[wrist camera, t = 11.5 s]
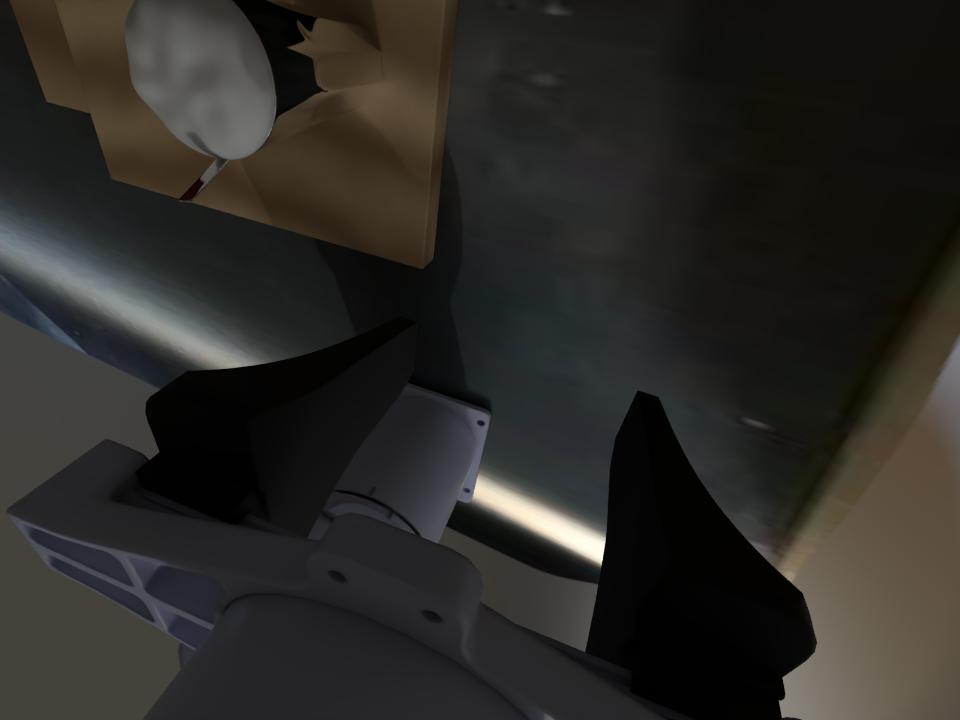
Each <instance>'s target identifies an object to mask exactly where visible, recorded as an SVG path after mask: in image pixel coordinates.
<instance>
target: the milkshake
mask: <svg viewBox="0 0 960 720" xmlns="http://www.w3.org/2000/svg"><path fill="white" fill-rule="evenodd" d="M125 42H126V48H127V54H128V61H129V69H130V77H131V81H132V84H133V86H134V89H135V90H136V92H137V93H138V95H139V96H140V97H141V98H142V100H143V101H144V102H145V103H146V104H147V105H148V106H149V107H150V108H151V109H152V110H153V111H154V112H155V113H156V114H157V116H158V117H159V118H160V119H161V120H162V122H163V123H164V124H165V126H166V127H167V128H168V129H169V131H170V132H171V133H172V134H173V135H174V136H175V137H176V138H178V139H179V140H180V141H181V142H183V143H184V144H186V145H187V146H189V147H190V148H192V149H194V150H196V151H198V152H200V153H202V154H205V155H208V156H211V157H214V158H217V159H216V160H215V161H214V162H213V163H212V164H211V166H210V167H209V168H208V169H207V170H206V171H205V172H204V173H203V174H202V175H201V176H200V177H199V178H198V179H197V180H196V181H195V182H194V183H193V185H192V186H191V187H190V188H189V189H188V190H187V191H186V192H185V193H184V194H183V195H182V196H181V197H180V198H179V201H180V202H187V203H190V202H192V201H193V200H194V199H195V198H196V196H197V195H198V194H199V193H200V192H201V191H202V190H203V189H204V188H205V187H206V186H207V185H208V183H209V182H210V181H211V180H212V179H213V178H214V177H215V176H216V175H217V174H218V173H219V171H220V170H221V169H222V168H223V167H224V166H225V165H226V164H227V163H228V162H229V161H230V160H233V159H240V158H244V157H247V156H249V155H251V154H253V153H256V152H258V151H260V150H262V149H264V148H267V147H269V146H271V145H273V144H275V143H278V142H280V141H282V140H284V139H286V138H288V137H291V136H293V135H295V134H297V133H299V132H301V131H303V130H305V129H307V128H309V127H311V126H313V125H316V124H318V123H321V122H323V121H326V120H328V119H331V118H334V117H336V116H339V115H341V114H344V113H347V112H349V111H352V110H355V109H357V108H360V107H363V106H365V105H368V104H370V103H372V102H373V100H374V98H375V96H376V94H377V92H378V90H379V88H380V86H381V84H382V82H383V75H382V63H381V52H380V51H379V49H378V47H377V46H376V44H375V42H374V41H373V39H372V37H371V36H370V34H369V32H368V31H367V29H366V28H365V27H364V26H361V25H359V24H357V23H355V22H353V21H350V20H348V19H346V18H344V17H342V16H338V15H334V14H330V13H326V12H322V11H318V10H314V9H310V8H305V7H301V6H297V5H293V4H289V3H285V2H281V1H277V0H135V1H134V3H133V4H132V6H131V8H130V10H129V12H128V15H127V18H126V23H125Z"/></svg>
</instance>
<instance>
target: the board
mask: <svg viewBox="0 0 960 720" xmlns="http://www.w3.org/2000/svg"><path fill="white" fill-rule="evenodd" d="M134 1H135V0H10V2H11V5H12V8H13V11H14V13H15V16H16V19H17V22H18V24H19V27H20V30H21V32H22V35H23V38H24V41H25V43H26V46H27V49H28V52H29V54H30V57H31V60H32V63H33V65H34V68H35V71H36V74H37V76H38V79H39V82H40V85H41V87H42V90H43V93H44V95H45V98H46V101H47V102H50V103H54V104H57V105H61V106H65V107H69V108H72V109H76V110H80V111H84V112H88V113H91V117H92V120H93V123H94V126H95V129H96V132H97V135H98V139H99V142H100V145H101V148H102V151H103V154H104V157H105V160H106V164H107V167H108V170H109V173H110V176H111V178H112V179H114V180H117V181H121V182H124V183H128V184H131V185H135V186H138V187H141V188H145V189H148V190H152V191H155V192H159V193H162V194H165V195H169V196H172V197H176V198H180V197H181V196H182V195H183V194H184V193H185V192H186V191H187V190H188V189H189V188H190V187H191V186H192V185H193V183H194V182H195V181H196V180H197V179H198V178H199V177H200V176H201V175H202V174H203V173H204V172H205V171H206V170H207V169H208V168H209V167H210V166H211V164H212V163H213V162H214V161H215V160H216V159H217V158H214V157H211V156H208V155H205V154H202V153H200V152H198V151H196V150H194V149H192V148H190V147H189V146H187V145H186V144H184V143H183V142H181V141H180V140H179V139H178V138H176V137H175V136H174V135H173V134H172V133H171V132H170V131H169V129H168V128H167V127H166V126H165V124H164V123H163V122H162V120H161V119H160V118H159V117H158V116H157V114H156V113H155V112H154V111H153V110H152V109H151V108H150V107H149V106H148V105H147V104H146V103H145V102H144V101H143V100H142V98H141V97H140V96H139V95H138V93H137V92H136V90H135V89H134V86H133V84H132V81H131V77H130V69H129V61H128V54H127V48H126V42H125V23H126V18H127V15H128V12H129V10H130V8H131V6H132V4H133V3H134ZM277 1H281V2H285V3H289V4H293V5H297V6H301V7H305V8H310V9H314V10H318V11H322V12H326V13H330V14H334V15H338V16H342V17H344V18H346V19H348V20H350V21H353V22H355V23H357V24H359V25H361V26H364V27H365V28H366V29H367V31H368V32H369V34H370V36H371V37H372V39H373V41H374V42H375V44H376V46H377V47H378V49H379V51H380V52H381V63H382V75H383V82H382V84H381V86H380V88H379V90H378V92H377V94H376V96H375V98H374V100H373V102H372V103H370V104H368V105H365V106H363V107H360V108H357V109H355V110H352V111H349V112H347V113H344V114H341V115H339V116H336V117H334V118H331V119H328V120H326V121H323V122H321V123H318V124H316V125H313V126H311V127H309V128H307V129H305V130H303V131H301V132H299V133H297V134H295V135H293V136H291V137H288V138H286V139H284V140H282V141H280V142H278V143H275V144H273V145H271V146H269V147H267V148H264V149H262V150H260V151H258V152H256V153H253V154H251V155H249V156H247V157H244V158H240V159H233V160H230V161H229V162H228V163H227V164H226V165H225V166H224V167H223V168H222V169H221V170H220V171H219V173H218V174H217V175H216V176H215V177H214V178H213V179H212V180H211V181H210V182H209V183H208V185H207V186H206V187H205V188H204V189H203V190H202V191H201V192H200V193H199V194H198V195H197V196H196V198H195V199H194V200H193V201H192V202H193V203H196V204H200V205H203V206H207V207H210V208H214V209H217V210H220V211H224V212H227V213H231V214H234V215H238V216H241V217H245V218H248V219H251V220H255V221H258V222H262V223H265V224H269V225H272V226H275V227H279V228H282V229H286V230H289V231H293V232H296V233H300V234H303V235H306V236H310V237H313V238H317V239H320V240H324V241H327V242H330V243H334V244H337V245H341V246H344V247H348V248H351V249H354V250H358V251H361V252H365V253H368V254H372V255H375V256H379V257H382V258H385V259H389V260H392V261H396V262H399V263H403V264H406V265H409V266H413V267H416V268H420V269H423V268H424V267H426V266H427V265H428V264H429V263H430V262H431V261H432V260H433V258H434V247H435V237H436V226H437V216H438V206H439V195H440V185H441V174H442V164H443V154H444V143H445V133H446V122H447V112H448V102H449V91H450V81H451V70H452V60H453V50H454V39H455V29H456V18H457V8H458V0H277Z"/></svg>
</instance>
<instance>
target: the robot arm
mask: <svg viewBox="0 0 960 720" xmlns="http://www.w3.org/2000/svg"><path fill="white" fill-rule="evenodd" d="M417 326H418V322H416V321H413V320H410V319H407V318H403V317H399V318H396V319H394V320H392V321H389V322H387V323H385V324H383V325H380V326H378V327H376V328H374V329H372V330H369V331H367V332H365V333H363V334H360V335H358V336H356V337H353V338H351V339H348V340H346V341H343V342H341V343H338V344H335V345H333V346H330V347H328V348H325V349H322V350H319V351H316V352H312V353H309V354H305V355H302V356H298V357H294V358H290V359H285V360H280V361H276V362H271V363H266V364H260V365H253V366H247V367H238V368H229V369H216V370H199V371H187V372H185V373H184V374H182V375H181V376H179V377H178V378H176V379H175V380H174V381H172V382H171V383H169V384H168V385H166V386H165V387H163V388H162V389H161V390H159V391H158V392H156V393H155V394H153V395H152V396H150V398H149V399H148V400H147V402H146V416H147V420H148V423H149V426H150V428H151V431H152V433H153V436H154V438H155V441H156V443H157V446H158V448H159V451H160V452H159V453H158V454H157V455H155V456H154V457H153V458H152V459H151V460H149V459H148V458H147V457H146V456H145V455H143V454H142V453H140V452H138V451H136V450H134V449H131V448H129V447H126V446H124V445H121V444H119V443H116V442H114V441H111V440H107V439H105V440H103V441H102V442H100V443H99V444H98V445H96V446H95V447H94V448H92V449H91V450H89V451H88V452H87V453H85V454H84V455H82V456H81V457H79V458H78V459H77V460H75V461H74V462H72V463H71V464H70V465H68V466H67V467H65V468H64V469H63V470H61V471H60V472H58V473H57V474H55V475H54V476H53V477H51V478H50V479H49V480H47V481H46V482H44V483H43V484H41V485H40V486H39V487H37V488H36V489H34V490H33V491H32V492H30V493H29V494H27V495H26V496H25V497H23V498H22V499H20V500H19V501H17V502H16V503H15V504H13V505H12V506H10V507H9V508H8V509H7V512H6V513H7V515H8V516H9V517H10V519H11V520H12V521H13V523H14V524H15V525H16V526H17V528H18V529H19V530H20V532H21V533H22V534H23V535H24V537H25V538H26V539H27V540H28V542H29V543H30V544H31V545H32V547H33V548H34V549H35V551H36V552H37V553H38V555H39V556H40V557H41V558H42V560H43V561H44V562H45V564H46V565H47V566H48V567H49V568H50V569H51V570H53V571H55V572H57V573H60V574H61V575H63V576H65V577H68V578H70V579H72V580H74V581H76V582H78V583H80V584H82V585H83V586H85V587H87V588H89V589H91V590H93V591H95V592H97V593H99V594H100V595H102V596H104V597H106V598H107V599H109V600H111V601H113V602H114V603H116V604H118V605H119V606H121V607H123V608H125V609H126V610H128V611H130V612H131V613H133V614H135V615H136V616H138V617H140V618H141V619H143V620H145V621H147V622H148V623H150V624H151V625H153V626H155V627H157V628H158V629H160V630H162V631H163V632H165V633H166V634H168V635H170V636H171V637H173V638H175V639H176V640H178V641H180V642H181V643H180V645H179V650H178V652H179V662H180V667H181V670H180V671H179V673H178V674H177V675H176V677H175V678H174V679H173V681H172V682H171V683H170V685H169V686H168V687H167V688H166V690H165V691H164V692H163V694H162V695H161V696H160V698H159V699H158V700H157V701H156V703H155V704H154V705H153V707H152V708H151V709H150V711H149V712H148V713H147V715H146V716H145V717H144V719H143V720H801V719H797V718H789V717H785V718H782V716H781V711H780V706H779V700H783V699H784V698H785V689H784V684H783V679H782V677H784V676H785V675H787V674H788V673H789V672H791V671H792V670H794V669H795V668H797V667H798V666H799V665H801V664H802V663H804V662H805V661H806V660H807V659H808V658H809V657H810V656H811V655H812V654H813V653H814V652H815V648H816V644H817V641H816V637H815V633H814V629H813V625H812V621H811V617H810V613H809V610H808V607H807V604H806V602H805V599H804V596H803V593H802V592H800V591H799V590H798V589H797V588H796V587H795V586H794V585H793V584H792V583H791V582H790V581H789V580H787V579H786V578H785V577H784V576H783V575H782V574H781V573H780V572H779V571H778V570H776V569H775V568H774V567H773V566H772V565H771V564H770V563H769V562H768V561H767V560H766V559H765V558H764V557H763V556H762V555H761V554H760V553H759V552H758V551H757V550H756V549H755V548H754V547H753V546H752V545H751V544H750V543H749V542H748V541H747V539H746V538H745V537H744V536H743V535H742V534H741V533H740V532H739V531H738V529H737V528H736V527H735V526H734V525H733V523H732V522H731V521H730V520H729V519H728V517H727V516H726V515H725V514H724V513H723V511H722V510H721V509H720V508H719V506H718V505H717V504H716V502H715V501H714V500H713V498H712V497H711V495H710V494H709V492H708V491H707V490H706V488H705V487H704V485H703V484H702V482H701V481H700V479H699V478H698V476H697V475H696V473H695V471H694V470H693V468H692V466H691V464H690V463H689V461H688V459H687V457H686V456H685V454H684V452H683V450H682V448H681V446H680V444H679V442H678V440H677V438H676V436H675V434H674V431H673V429H672V427H671V425H670V422H669V420H668V418H667V416H666V413H665V411H664V409H663V406H662V404H661V401H660V399H659V397H657V396H654V395H651V394H647V393H644V392H641V391H637V393H636V395H635V398H634V400H633V402H632V404H631V406H630V408H629V410H628V413H627V415H626V417H625V419H624V421H623V423H622V425H621V427H620V430H619V432H618V434H617V436H616V439H615V444H614V449H613V454H612V459H611V465H610V479H609V497H608V517H607V533H606V543H605V549H604V555H603V561H602V567H601V573H600V579H599V584H598V590H597V596H596V602H595V606H594V612H593V617H592V621H591V627H590V632H589V637H588V641H587V646H586V651H585V652H583V651H581V650H578V649H576V648H573V647H571V646H568V645H566V644H564V643H561V642H559V641H556V640H554V639H552V638H549V637H547V636H544V635H541V634H539V633H537V632H534V631H532V630H530V629H527V628H525V627H522V626H520V625H517V624H515V623H513V622H512V621H510V620H509V619H507V618H506V617H504V616H502V615H501V614H499V613H498V612H496V611H494V610H493V609H491V608H490V607H488V606H487V605H485V604H483V603H482V602H480V597H481V594H482V591H483V588H484V586H483V580H482V574H481V573H480V571H479V570H478V569H477V568H476V567H475V566H474V564H473V563H472V562H471V561H470V560H469V559H468V558H467V557H465V556H463V555H461V554H460V553H458V552H456V551H454V550H453V549H451V548H448V547H445V546H443V545H441V544H438V541H439V539H440V537H441V535H442V532H443V530H444V528H445V526H446V524H447V521H448V519H449V517H450V515H451V512H452V510H453V508H454V506H455V503H456V501H457V500H460V501H462V502H465V503H469V502H471V500H472V497H473V493H474V489H475V484H476V480H477V476H478V471H479V467H480V462H481V458H482V454H483V449H484V445H485V440H486V436H487V432H488V427H489V423H490V418H491V414H490V412H489V411H488V410H487V409H485V408H482V407H479V406H476V405H473V404H470V403H467V402H464V401H461V400H458V399H455V398H452V397H449V396H446V395H443V394H440V393H437V392H434V391H431V390H428V389H425V388H422V387H419V386H416V385H413V384H410V383H407V382H408V380H409V379H410V377H411V375H412V373H413V371H414V362H415V350H416V338H417ZM480 420H482V421H483V422H481V421H480Z"/></svg>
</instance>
